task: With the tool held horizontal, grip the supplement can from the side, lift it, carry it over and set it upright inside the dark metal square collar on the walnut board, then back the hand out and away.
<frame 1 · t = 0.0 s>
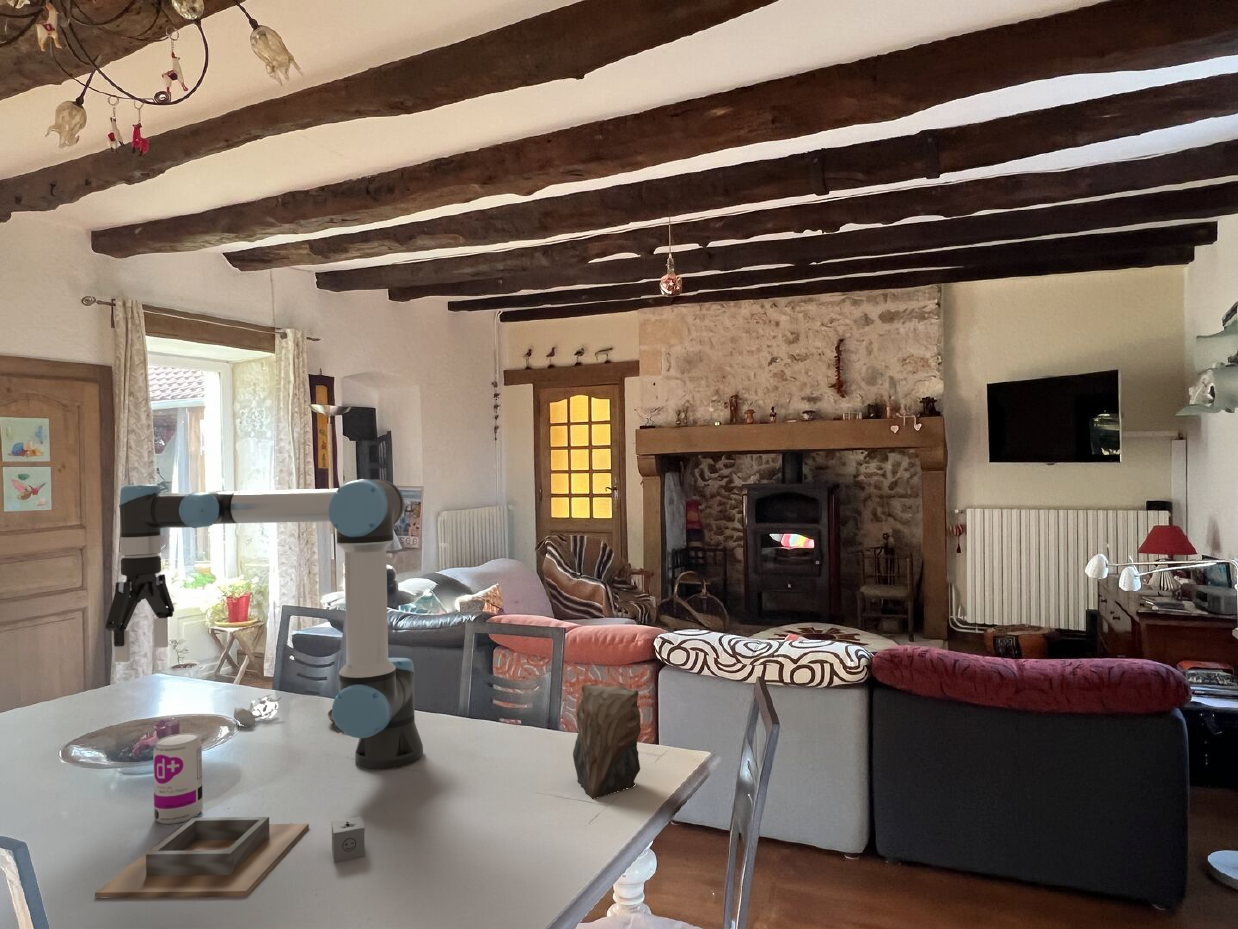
hand: (142, 654, 173), 28 cm above the table, tool pointing down, fingers open, 13 cm apart
dice cube: (348, 854, 139), on the table
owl: (601, 787, 166), on the table
figurine: (258, 722, 216), on the table
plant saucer: (368, 721, 215), on the table
supplement can: (178, 817, 155), on the table
collar board: (211, 864, 137), on the table
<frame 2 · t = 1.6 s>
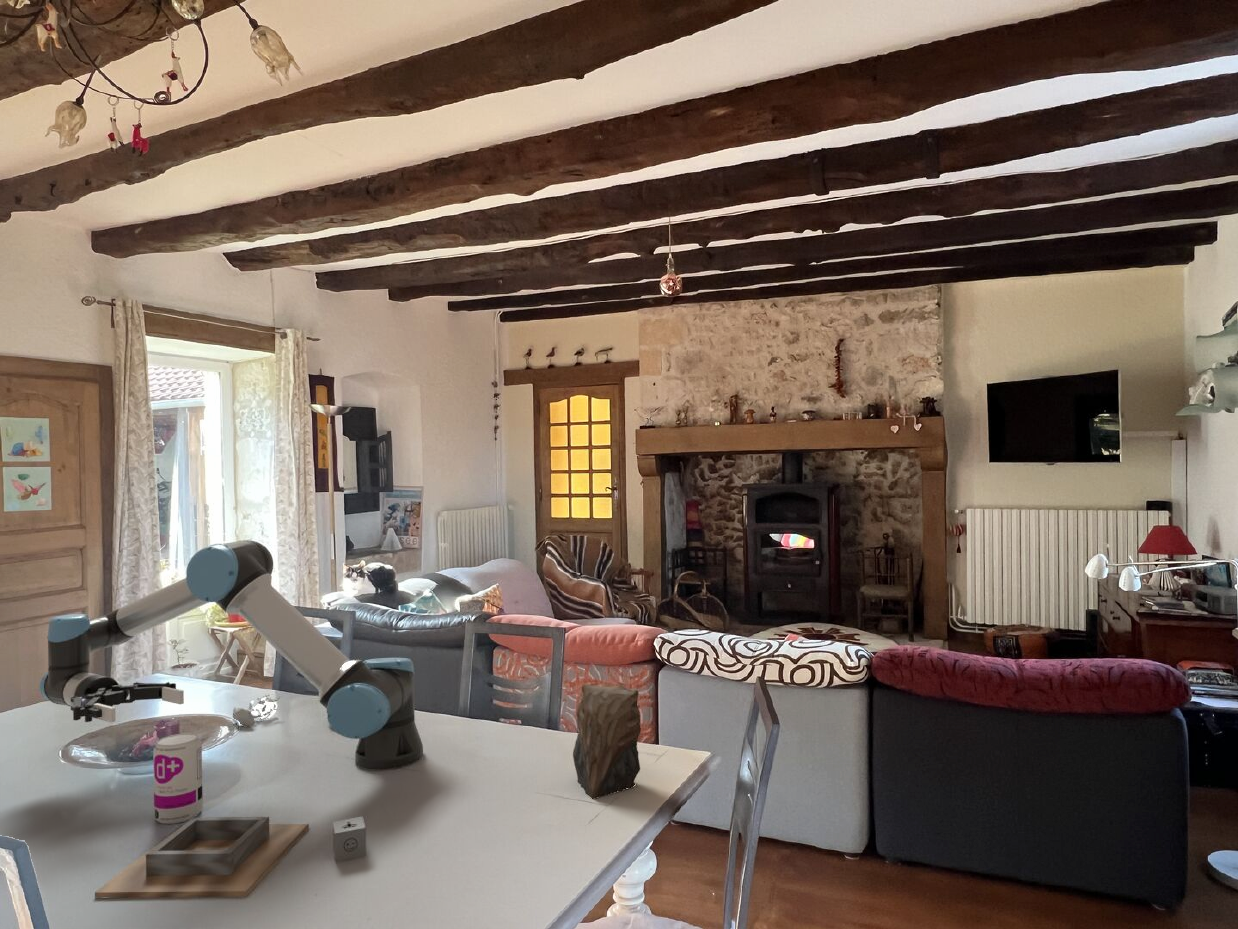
hand: (149, 706, 161), 20 cm above the table, tool horizontal, fingers open, 13 cm apart
nothing on the table moved.
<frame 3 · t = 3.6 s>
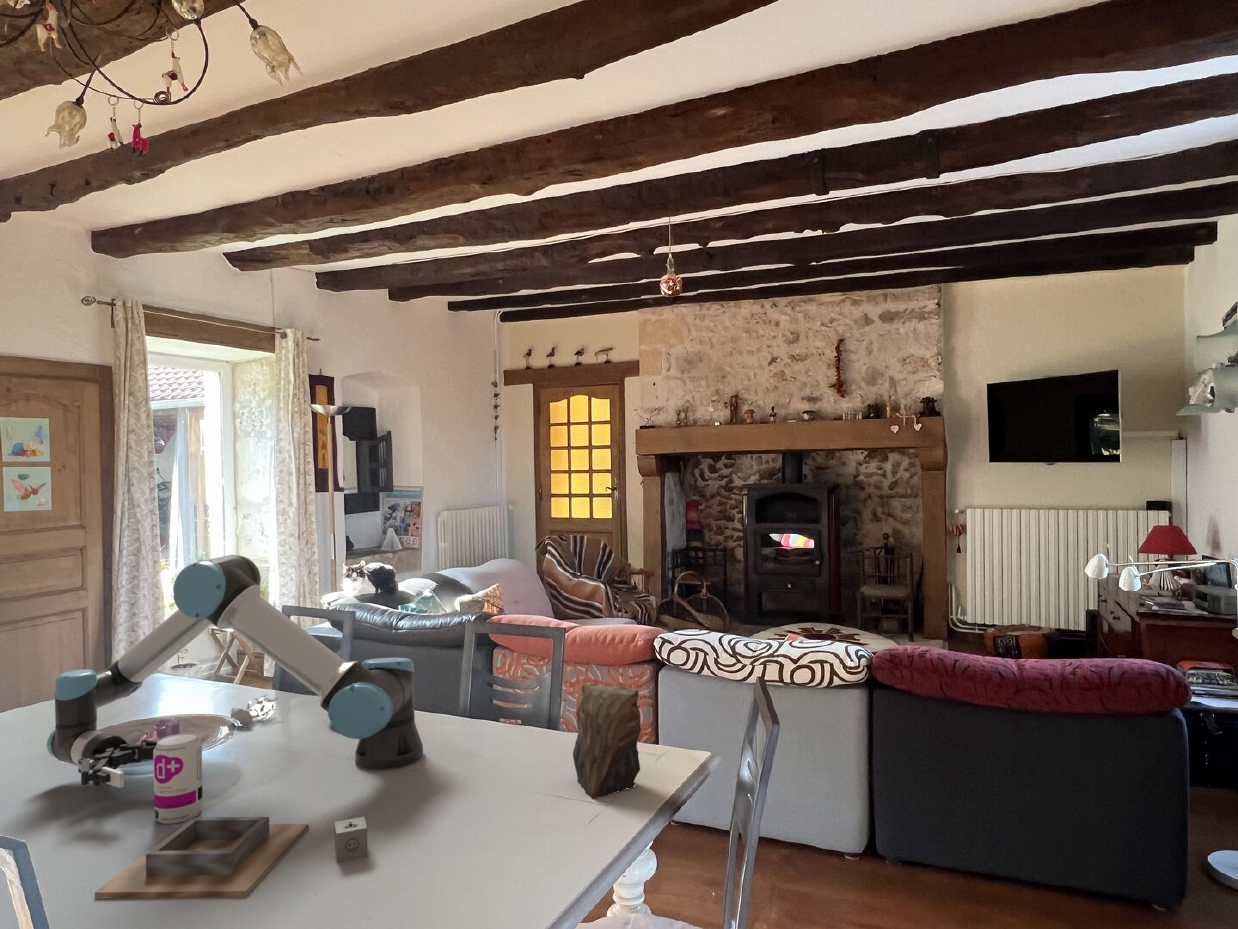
hand: (157, 768, 158), 8 cm above the table, tool horizontal, fingers open, 13 cm apart
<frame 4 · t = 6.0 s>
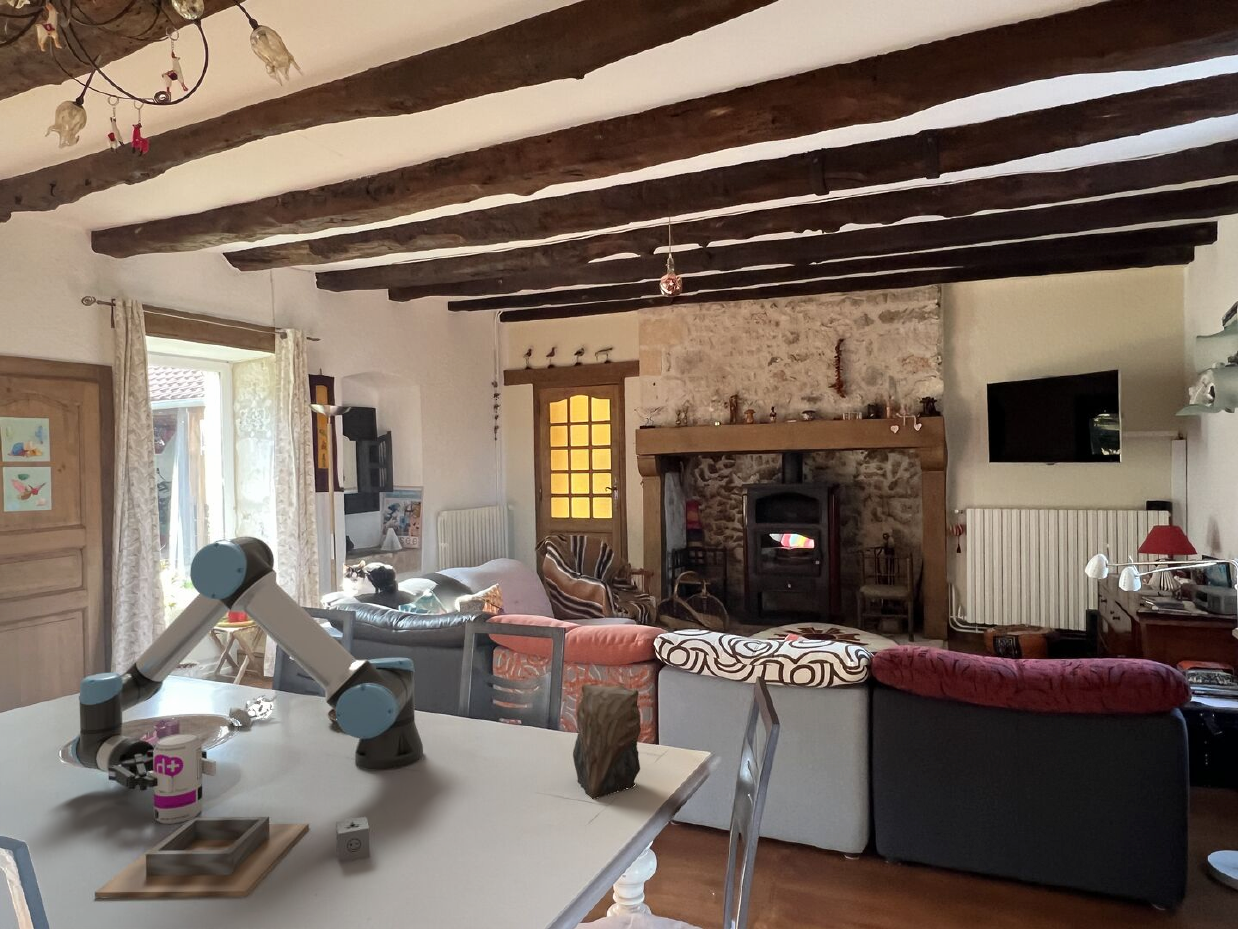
hand: (192, 776, 153), 9 cm above the table, tool horizontal, fingers closed on supplement can, 8 cm apart
supplement can: (178, 817, 155), on the table, touching gripper
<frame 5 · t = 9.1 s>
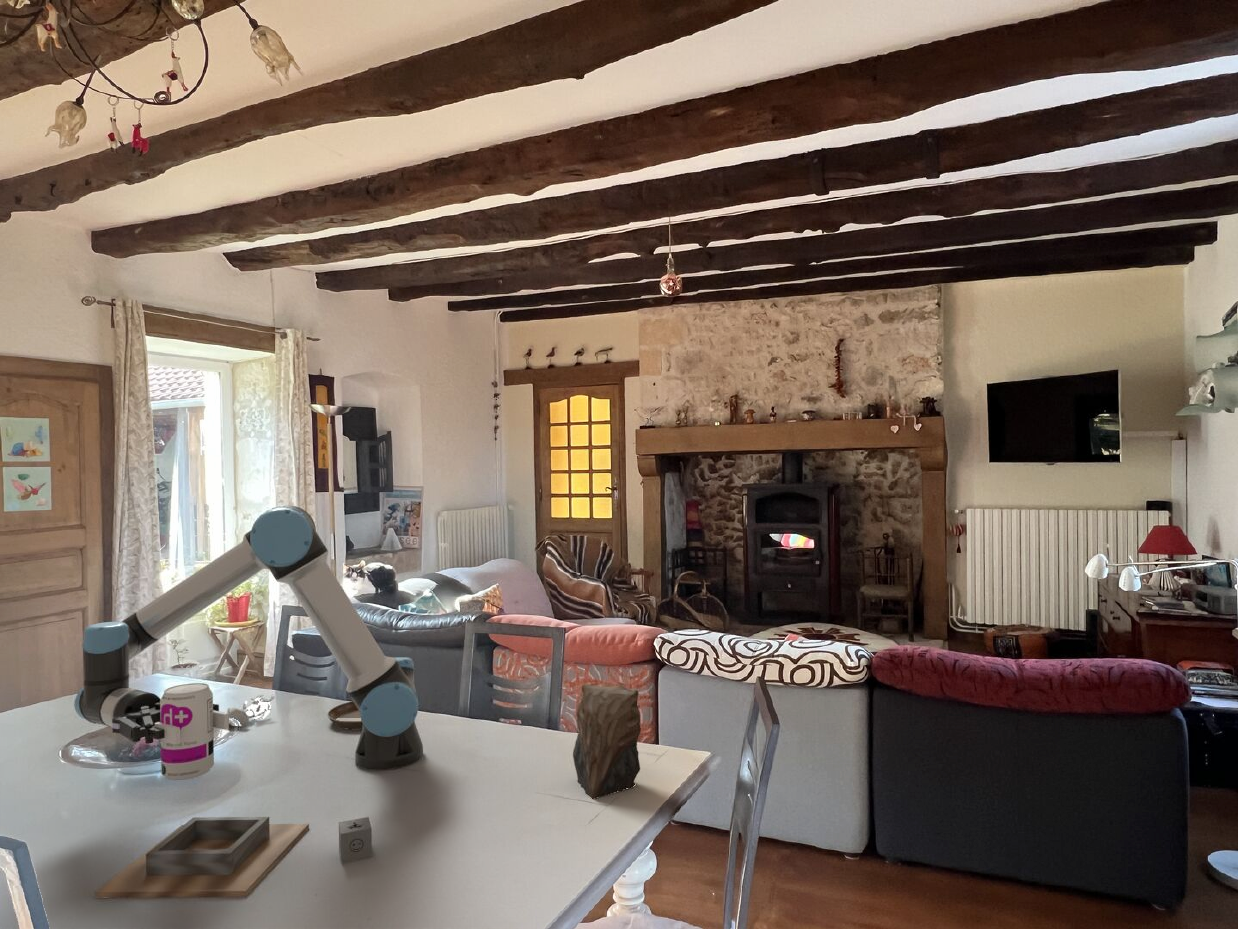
hand: (202, 728, 140), 22 cm above the table, tool horizontal, fingers closed on supplement can, 8 cm apart
supplement can: (188, 773, 142), point 13 cm above the table, touching gripper
when the fingers open (11 cm above the table, at t = 12.6 s): supplement can drops 2 cm, resting on collar board.
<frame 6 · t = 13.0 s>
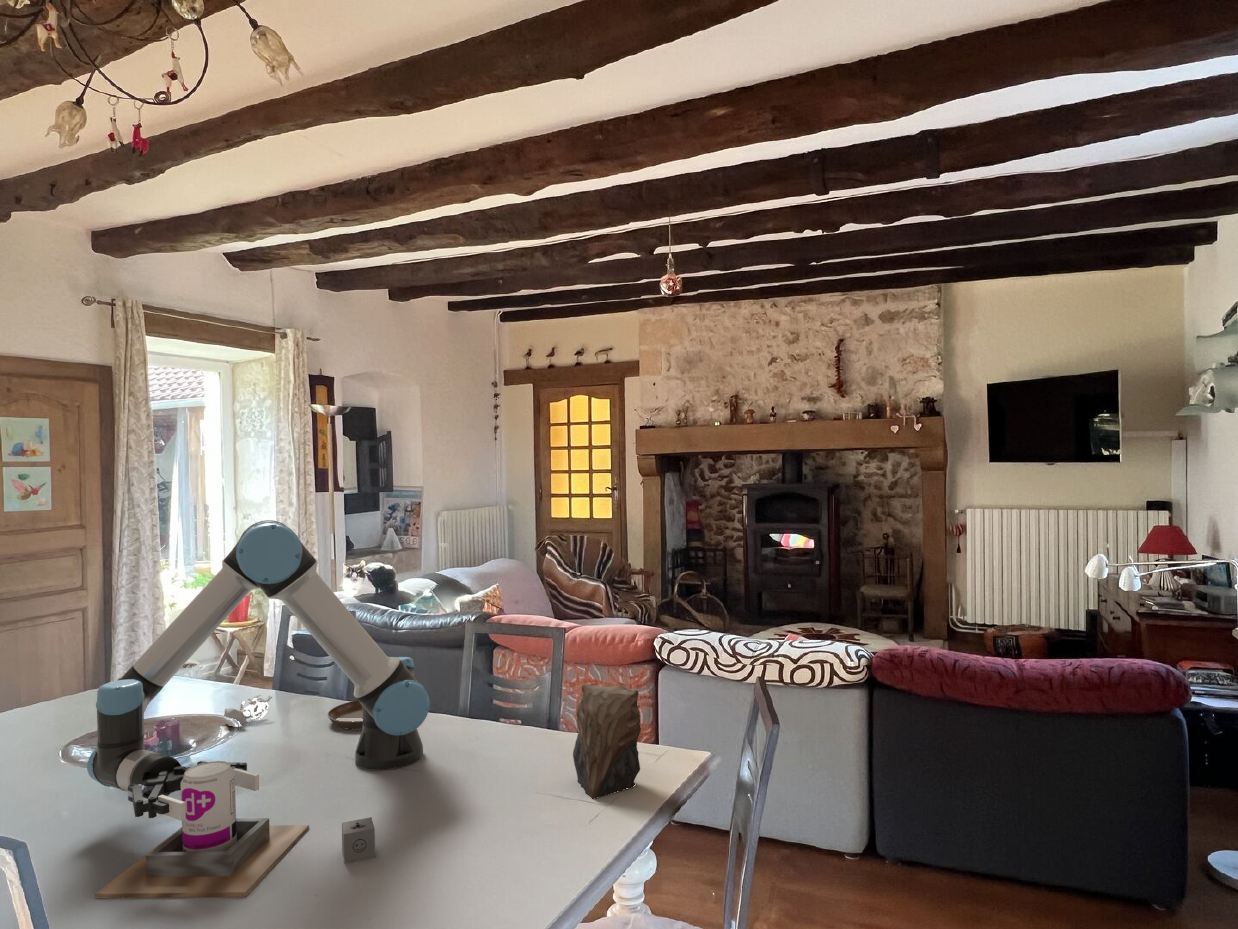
hand: (222, 796, 136), 11 cm above the table, tool horizontal, fingers open, 13 cm apart
supplement can: (210, 857, 137), point 1 cm above the table, touching collar board
collar board: (211, 865, 137), on the table, touching supplement can
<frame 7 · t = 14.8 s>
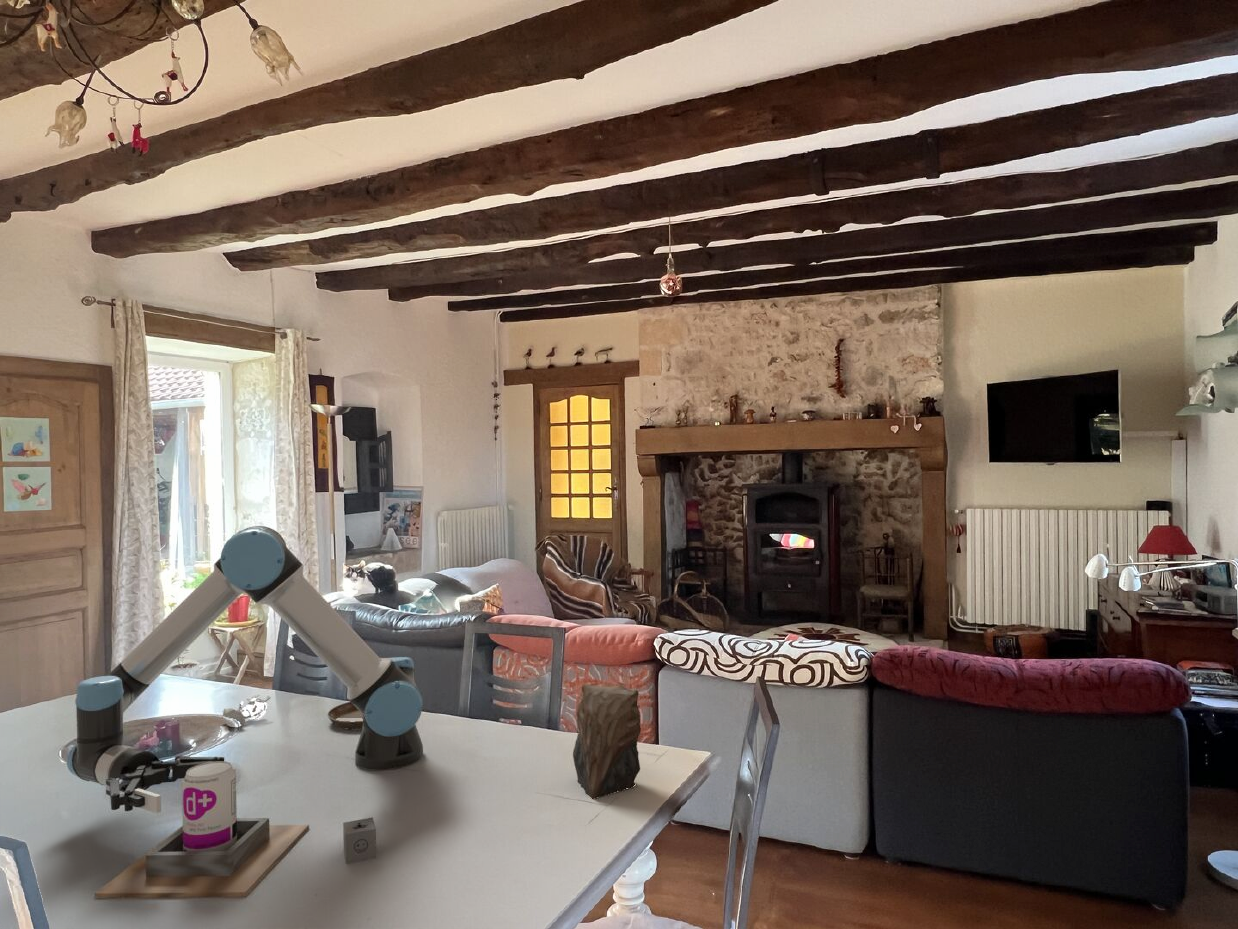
hand: (198, 789, 138), 12 cm above the table, tool horizontal, fingers open, 13 cm apart
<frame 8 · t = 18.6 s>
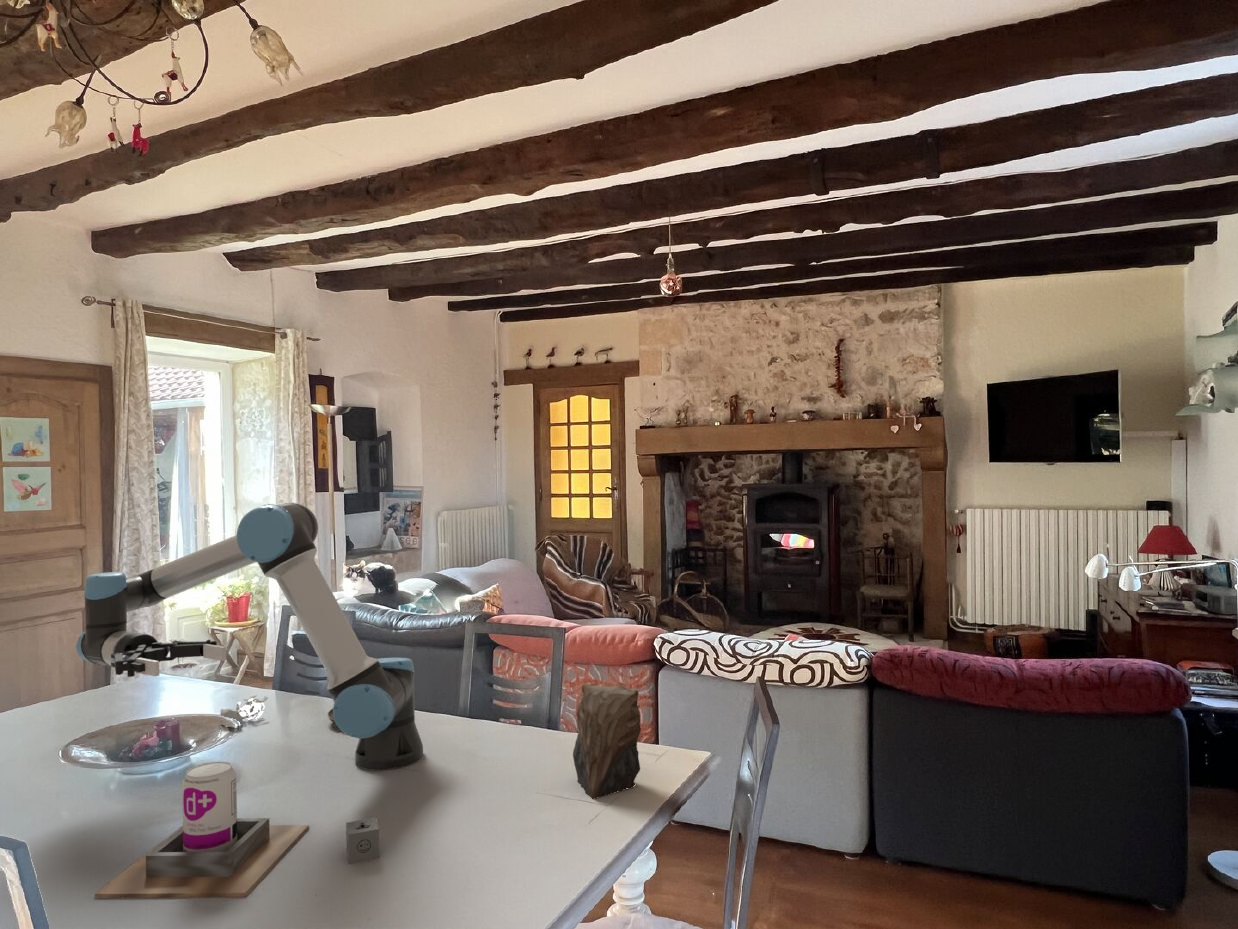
hand: (192, 661, 156), 30 cm above the table, tool horizontal, fingers open, 13 cm apart
at the end: supplement can 0.0 cm off-centre on the collar board, point 1.3 cm above the collar board's base; supplement can tilted 0°; the gripper is holding nothing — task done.
